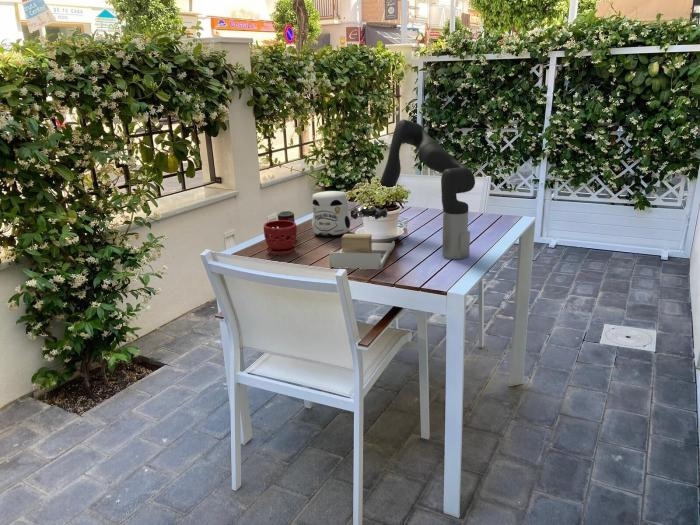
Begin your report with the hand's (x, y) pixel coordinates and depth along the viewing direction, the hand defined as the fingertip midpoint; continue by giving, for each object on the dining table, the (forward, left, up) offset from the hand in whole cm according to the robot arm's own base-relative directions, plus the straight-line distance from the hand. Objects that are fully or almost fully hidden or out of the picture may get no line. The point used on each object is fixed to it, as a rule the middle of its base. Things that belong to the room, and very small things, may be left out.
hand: (365, 216), depth 207 cm
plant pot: (+29, +19, -15) cm, 38 cm away
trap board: (-2, +3, -15) cm, 15 cm away
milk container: (+32, -12, -15) cm, 37 cm away
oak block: (-7, +13, -14) cm, 20 cm away
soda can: (+41, +6, -15) cm, 44 cm away
